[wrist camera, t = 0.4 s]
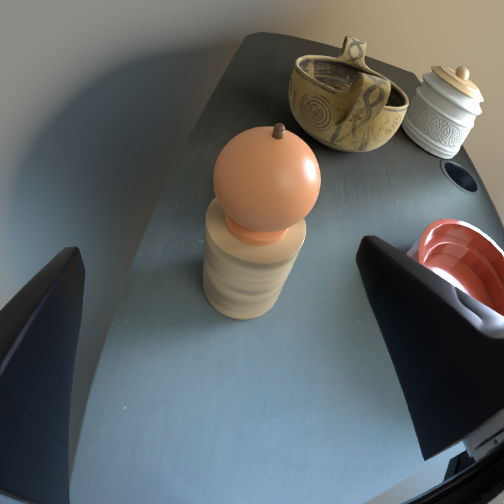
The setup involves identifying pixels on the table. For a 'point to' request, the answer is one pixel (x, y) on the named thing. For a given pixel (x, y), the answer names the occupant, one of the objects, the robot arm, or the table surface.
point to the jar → (443, 111)
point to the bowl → (463, 260)
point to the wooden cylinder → (245, 267)
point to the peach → (265, 183)
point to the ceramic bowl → (345, 100)
